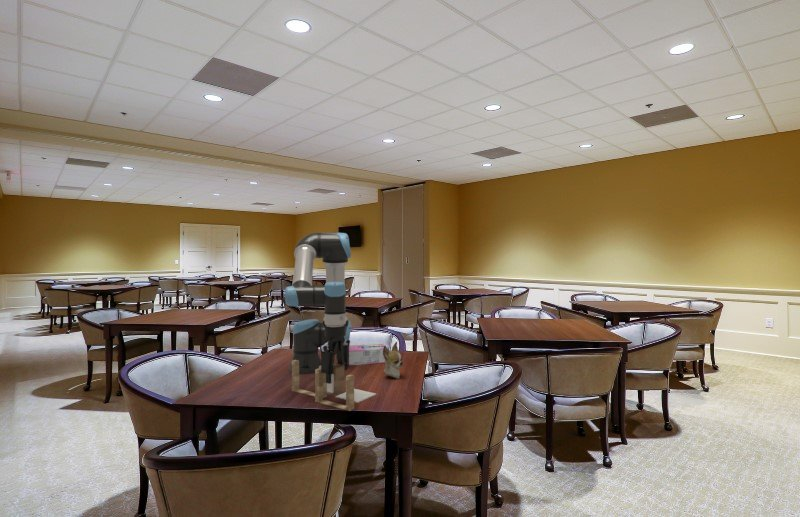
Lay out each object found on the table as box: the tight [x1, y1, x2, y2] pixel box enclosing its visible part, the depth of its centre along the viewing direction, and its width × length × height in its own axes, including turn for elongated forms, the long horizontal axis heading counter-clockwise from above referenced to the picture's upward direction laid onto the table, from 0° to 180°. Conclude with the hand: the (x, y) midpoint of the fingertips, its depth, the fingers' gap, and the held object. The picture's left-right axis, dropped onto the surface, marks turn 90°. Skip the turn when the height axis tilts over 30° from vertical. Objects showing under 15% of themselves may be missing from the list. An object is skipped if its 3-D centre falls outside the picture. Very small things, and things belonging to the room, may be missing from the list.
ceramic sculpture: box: [383, 341, 403, 380], centre depth 186 cm, size 11×9×15 cm
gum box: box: [349, 343, 385, 366], centre depth 215 cm, size 22×7×13 cm
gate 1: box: [291, 360, 328, 399], centre depth 164 cm, size 17×2×12 cm, turn 56°
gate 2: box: [314, 368, 355, 412], centre depth 151 cm, size 17×2×12 cm, turn 56°
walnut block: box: [327, 362, 346, 397], centre depth 152 cm, size 4×4×10 cm
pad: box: [334, 388, 377, 404], centre depth 161 cm, size 11×11×1 cm
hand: (335, 389), depth 152 cm, fingers closed on walnut block, 4 cm apart
